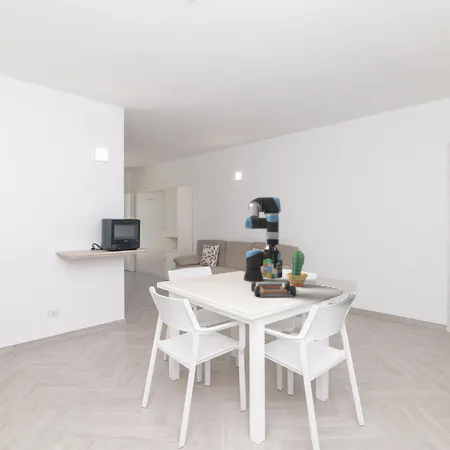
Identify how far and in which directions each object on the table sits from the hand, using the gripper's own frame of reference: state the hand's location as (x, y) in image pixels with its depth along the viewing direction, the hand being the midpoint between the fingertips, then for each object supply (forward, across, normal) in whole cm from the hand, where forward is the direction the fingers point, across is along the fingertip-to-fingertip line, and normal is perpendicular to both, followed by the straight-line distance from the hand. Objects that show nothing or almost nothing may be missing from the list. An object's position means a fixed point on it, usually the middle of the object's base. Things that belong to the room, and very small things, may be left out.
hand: (272, 272), depth 205 cm
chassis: (+13, 0, 0) cm, 13 cm away
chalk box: (+4, 0, 0) cm, 4 cm away
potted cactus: (+14, -22, +22) cm, 34 cm away
